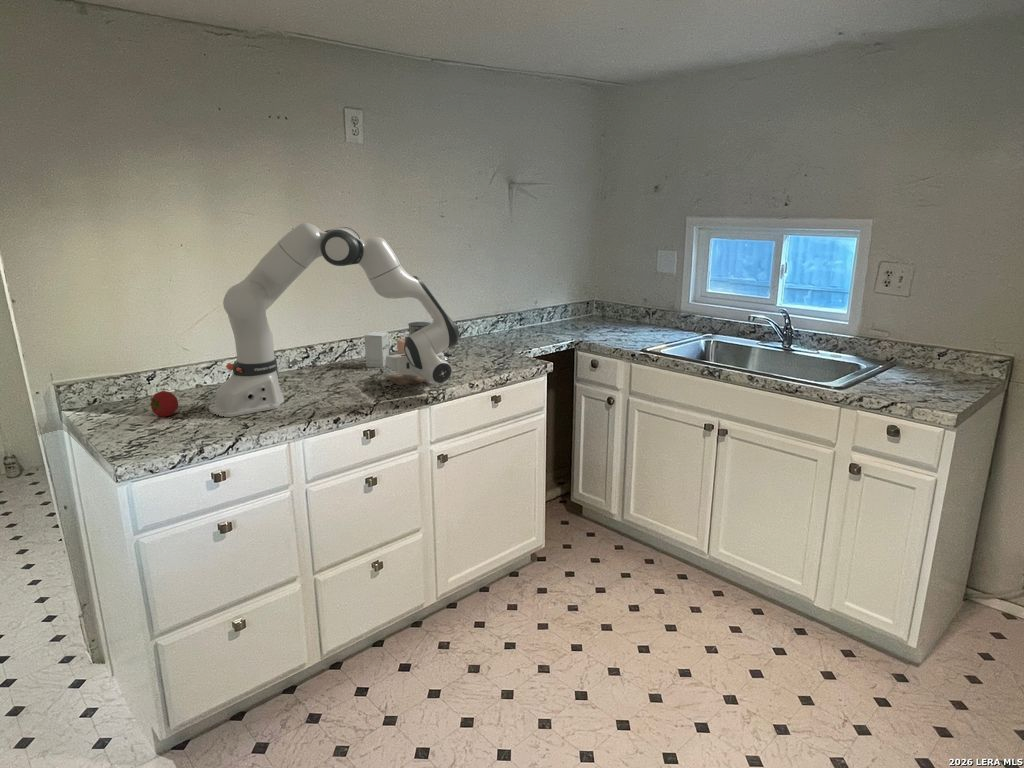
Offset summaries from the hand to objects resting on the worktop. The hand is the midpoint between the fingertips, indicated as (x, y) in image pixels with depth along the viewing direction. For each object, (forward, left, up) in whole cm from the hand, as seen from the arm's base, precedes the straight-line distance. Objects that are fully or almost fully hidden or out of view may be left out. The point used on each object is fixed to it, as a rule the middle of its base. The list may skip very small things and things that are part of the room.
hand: (407, 354), depth 233 cm
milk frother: (+26, +18, -10) cm, 33 cm away
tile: (0, -1, -9) cm, 9 cm away
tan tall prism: (0, -1, -6) cm, 6 cm away
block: (0, -1, -8) cm, 8 cm away
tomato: (-75, +23, -10) cm, 79 cm away
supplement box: (+6, +26, -10) cm, 28 cm away
